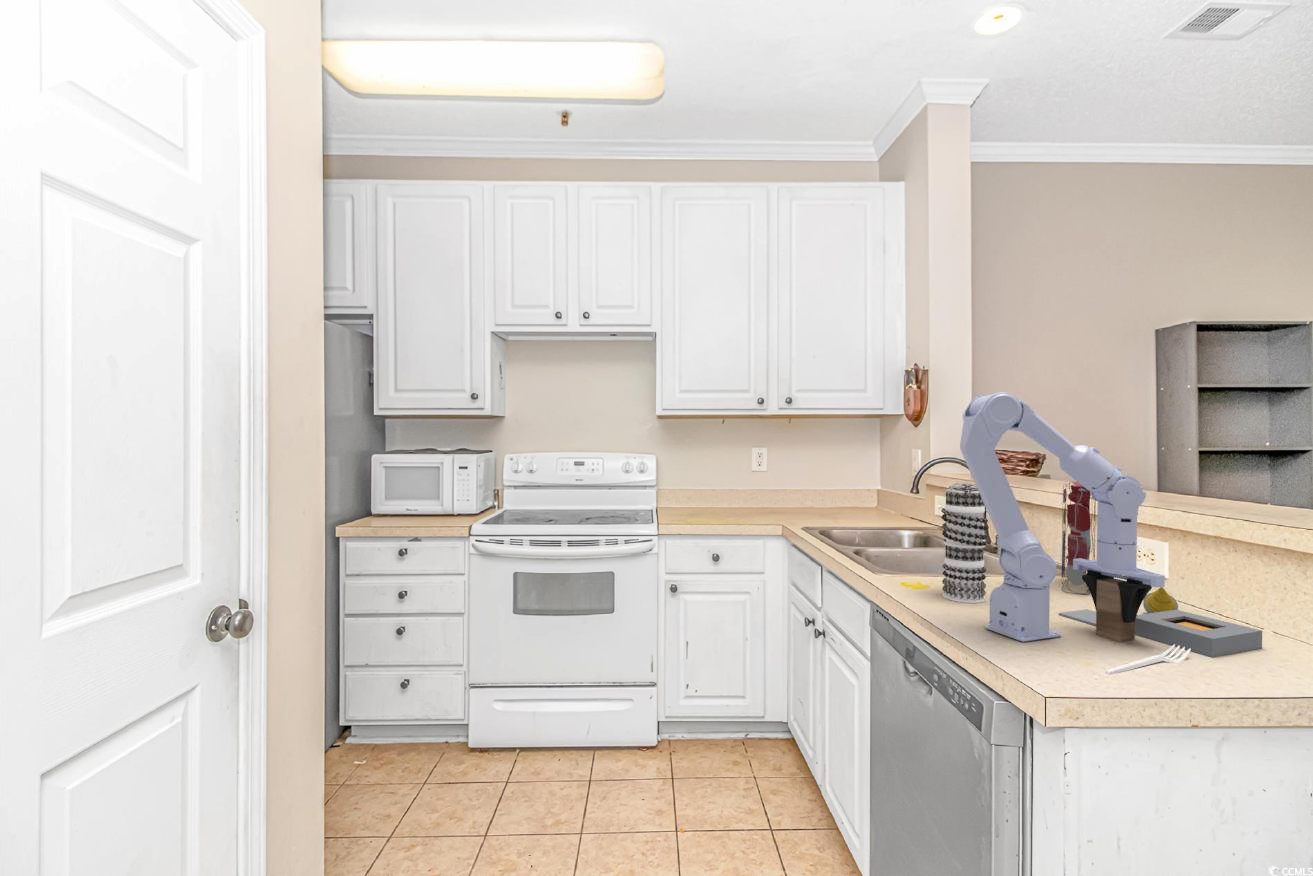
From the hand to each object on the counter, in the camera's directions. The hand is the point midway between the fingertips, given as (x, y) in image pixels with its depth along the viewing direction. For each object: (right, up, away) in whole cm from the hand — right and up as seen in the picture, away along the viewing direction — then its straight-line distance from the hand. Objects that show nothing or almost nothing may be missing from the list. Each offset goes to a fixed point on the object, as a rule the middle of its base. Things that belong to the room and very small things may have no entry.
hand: (1115, 618), depth 110 cm
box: (+15, -3, +32) cm, 36 cm away
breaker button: (+13, -2, -1) cm, 13 cm away
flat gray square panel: (+4, -3, +11) cm, 12 cm away
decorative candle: (-14, -3, +26) cm, 30 cm away
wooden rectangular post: (0, -3, 0) cm, 3 cm away
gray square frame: (+13, -4, -1) cm, 13 cm away
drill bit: (+18, -4, +12) cm, 22 cm away
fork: (-4, -4, -13) cm, 14 cm away
